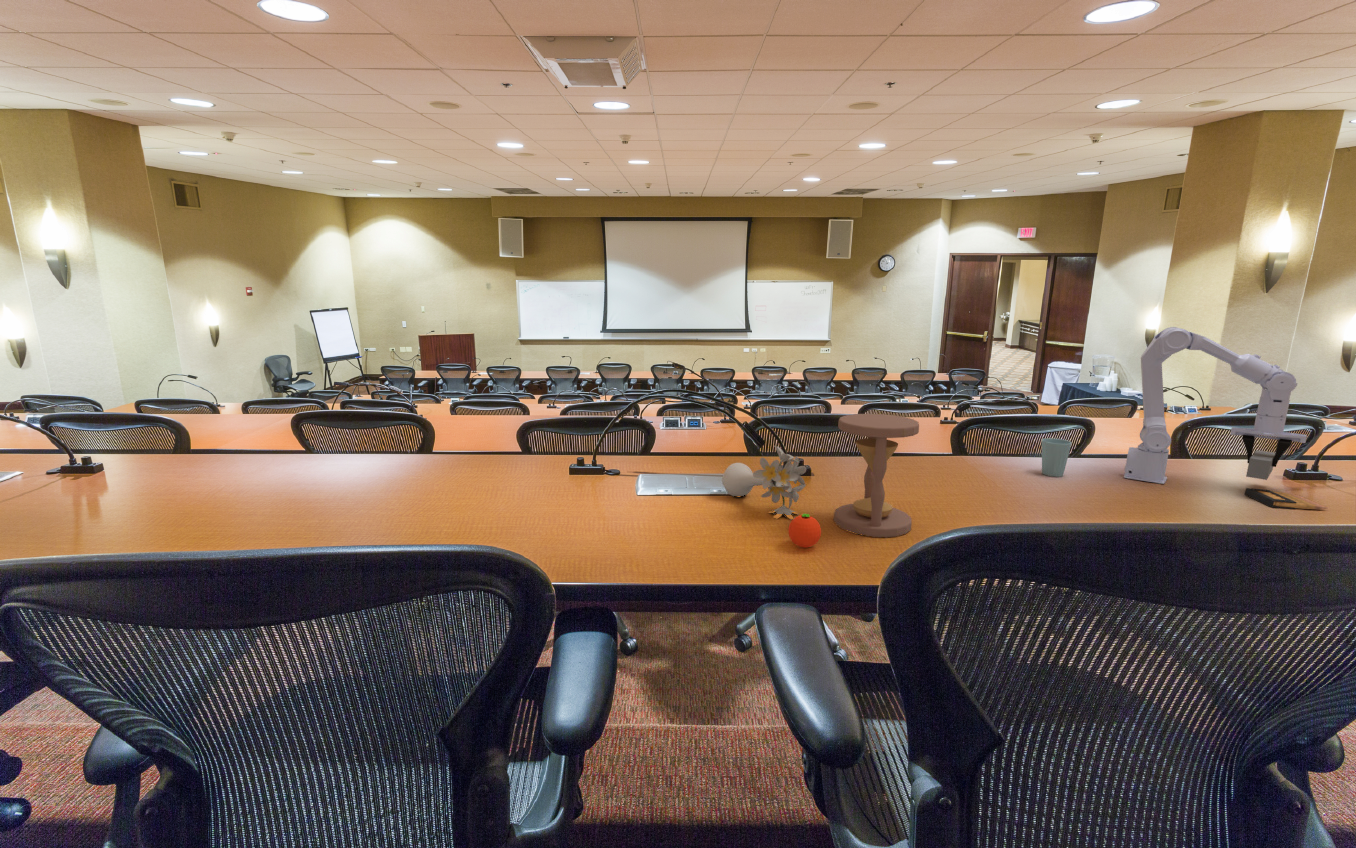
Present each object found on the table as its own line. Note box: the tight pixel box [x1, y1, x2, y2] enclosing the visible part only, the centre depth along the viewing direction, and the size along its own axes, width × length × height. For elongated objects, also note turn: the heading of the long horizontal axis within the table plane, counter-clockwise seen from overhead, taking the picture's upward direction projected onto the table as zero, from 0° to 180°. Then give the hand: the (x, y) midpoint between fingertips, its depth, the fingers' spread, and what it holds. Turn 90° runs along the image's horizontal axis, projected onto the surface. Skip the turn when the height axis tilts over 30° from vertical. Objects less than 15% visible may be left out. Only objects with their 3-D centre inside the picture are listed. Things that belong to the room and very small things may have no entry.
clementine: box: [787, 513, 822, 549], centre depth 129 cm, size 8×7×7 cm
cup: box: [1041, 437, 1072, 478], centre depth 181 cm, size 8×8×10 cm
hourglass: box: [833, 413, 920, 538], centre depth 139 cm, size 18×18×25 cm
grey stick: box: [1245, 449, 1275, 481], centre depth 163 cm, size 4×18×5 cm, turn 132°
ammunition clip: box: [1244, 487, 1328, 510], centre depth 155 cm, size 11×2×12 cm
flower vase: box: [721, 445, 807, 515], centre depth 154 cm, size 13×18×25 cm
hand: (1261, 464), depth 163 cm, fingers closed on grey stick, 4 cm apart
